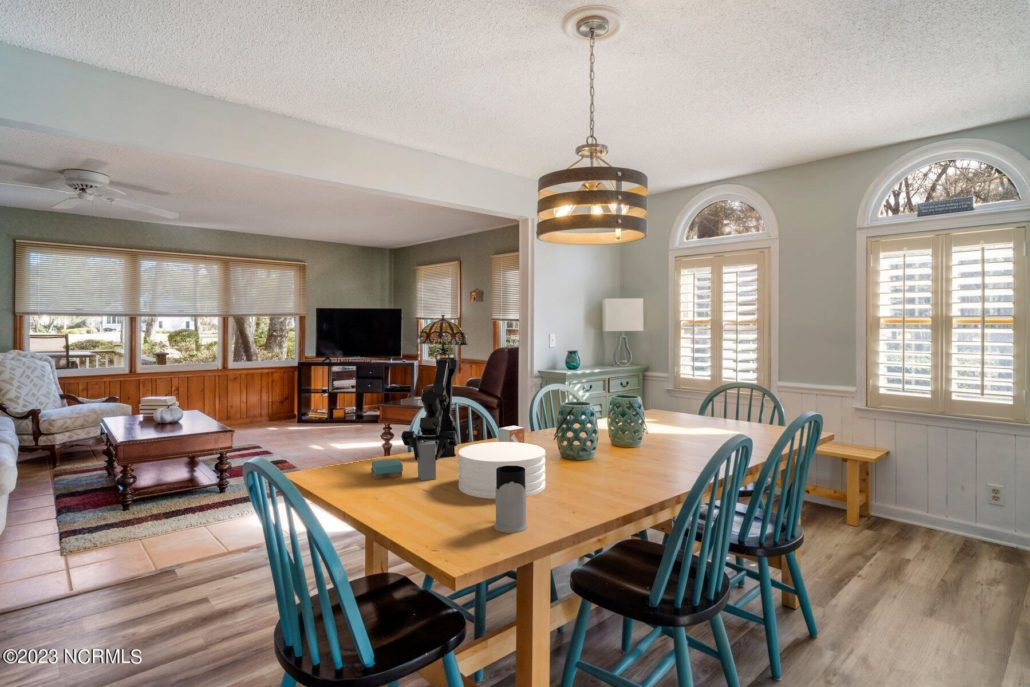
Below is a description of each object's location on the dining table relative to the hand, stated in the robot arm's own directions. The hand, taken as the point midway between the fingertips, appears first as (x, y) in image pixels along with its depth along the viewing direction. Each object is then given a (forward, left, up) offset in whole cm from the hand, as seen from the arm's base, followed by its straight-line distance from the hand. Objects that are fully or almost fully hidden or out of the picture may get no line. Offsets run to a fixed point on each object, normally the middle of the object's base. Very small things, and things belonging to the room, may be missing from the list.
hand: (425, 459), depth 192 cm
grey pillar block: (-1, -1, -7) cm, 7 cm away
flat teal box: (+11, -11, -7) cm, 18 cm away
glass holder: (-11, +50, -7) cm, 51 cm away
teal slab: (+11, -11, -5) cm, 16 cm away
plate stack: (-21, +17, -7) cm, 28 cm away
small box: (-36, -11, -7) cm, 38 cm away
